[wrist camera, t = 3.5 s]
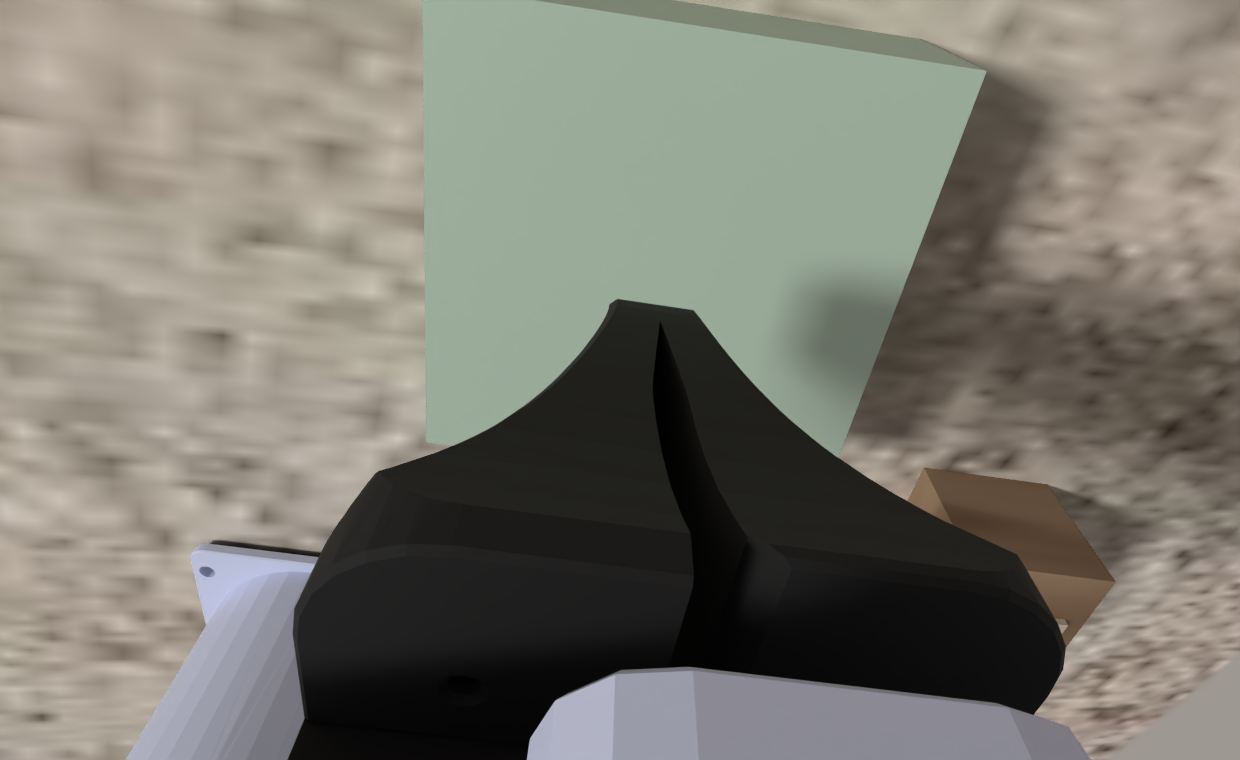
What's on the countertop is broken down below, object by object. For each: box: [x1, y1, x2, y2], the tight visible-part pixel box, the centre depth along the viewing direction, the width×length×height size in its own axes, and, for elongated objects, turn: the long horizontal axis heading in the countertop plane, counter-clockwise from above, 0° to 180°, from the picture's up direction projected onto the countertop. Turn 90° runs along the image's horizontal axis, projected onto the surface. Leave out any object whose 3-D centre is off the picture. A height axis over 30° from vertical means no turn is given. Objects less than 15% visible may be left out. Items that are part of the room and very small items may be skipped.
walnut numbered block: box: [908, 468, 1115, 647], centre depth 22 cm, size 4×4×4 cm
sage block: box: [423, 0, 987, 457], centre depth 17 cm, size 10×10×4 cm
